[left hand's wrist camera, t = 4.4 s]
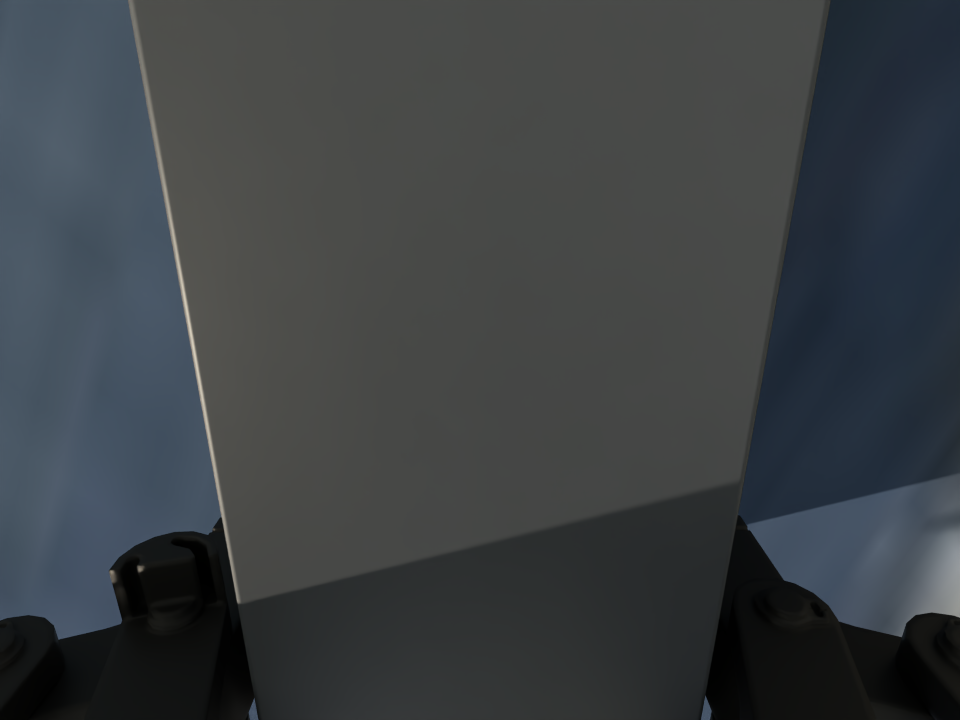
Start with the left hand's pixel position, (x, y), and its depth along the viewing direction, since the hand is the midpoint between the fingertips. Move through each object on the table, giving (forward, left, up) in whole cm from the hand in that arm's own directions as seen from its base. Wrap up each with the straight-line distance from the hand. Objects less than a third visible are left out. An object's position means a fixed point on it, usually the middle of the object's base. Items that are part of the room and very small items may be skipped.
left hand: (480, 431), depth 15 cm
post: (+31, +14, -1) cm, 34 cm away
